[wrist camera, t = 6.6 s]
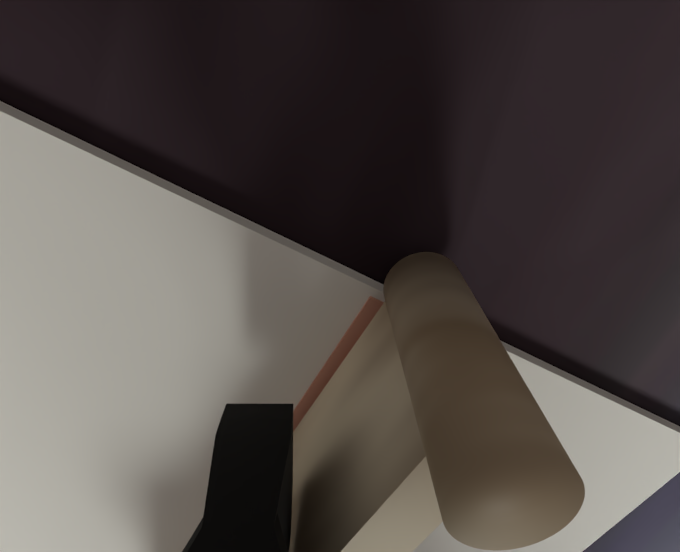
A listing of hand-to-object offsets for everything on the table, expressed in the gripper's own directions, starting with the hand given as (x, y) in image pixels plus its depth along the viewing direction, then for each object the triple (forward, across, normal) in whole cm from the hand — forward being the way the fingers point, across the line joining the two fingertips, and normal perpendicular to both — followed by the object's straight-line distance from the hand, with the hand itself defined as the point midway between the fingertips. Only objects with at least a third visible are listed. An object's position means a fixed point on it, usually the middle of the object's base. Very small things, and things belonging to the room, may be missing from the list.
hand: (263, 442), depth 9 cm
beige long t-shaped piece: (+2, -1, +2) cm, 3 cm away
